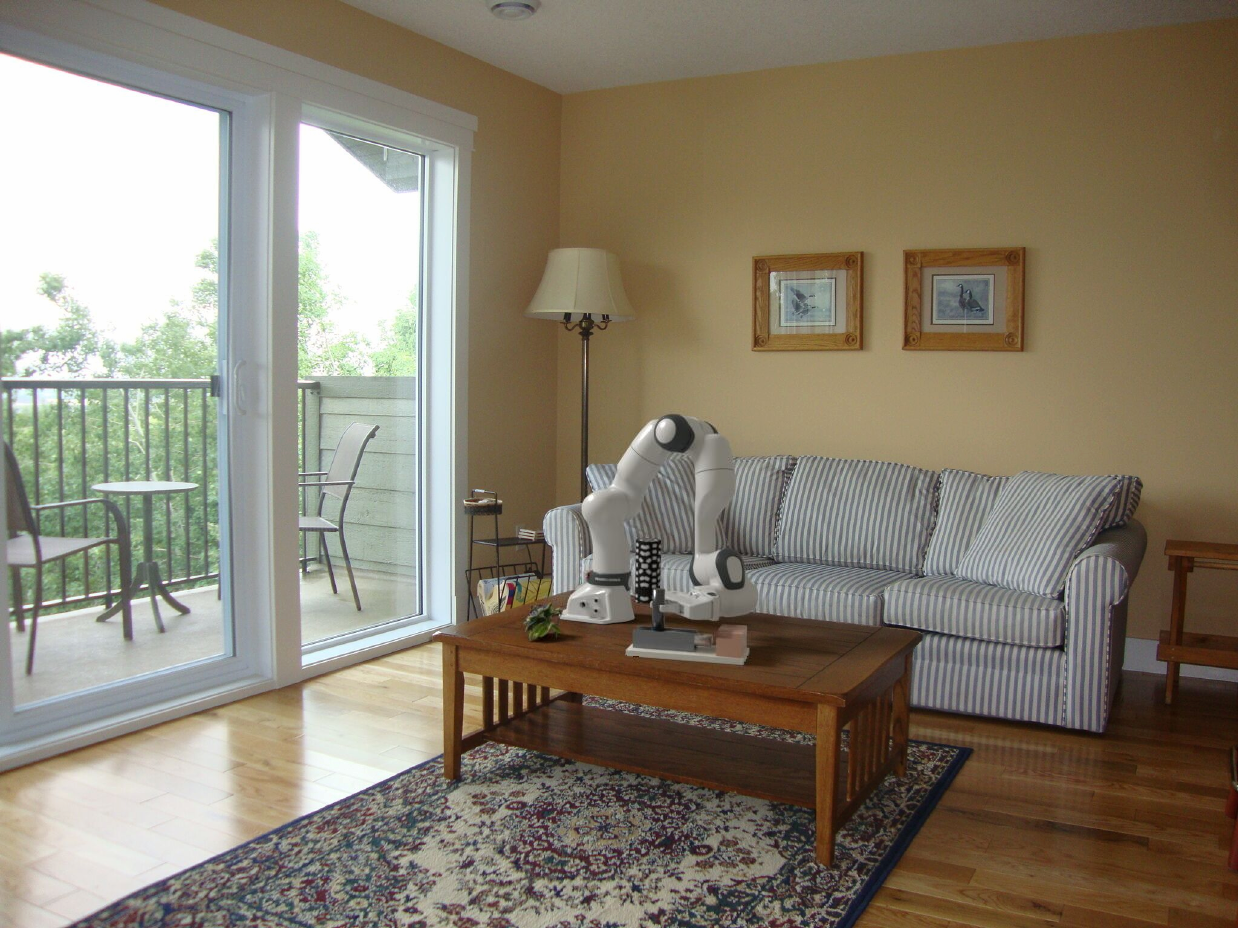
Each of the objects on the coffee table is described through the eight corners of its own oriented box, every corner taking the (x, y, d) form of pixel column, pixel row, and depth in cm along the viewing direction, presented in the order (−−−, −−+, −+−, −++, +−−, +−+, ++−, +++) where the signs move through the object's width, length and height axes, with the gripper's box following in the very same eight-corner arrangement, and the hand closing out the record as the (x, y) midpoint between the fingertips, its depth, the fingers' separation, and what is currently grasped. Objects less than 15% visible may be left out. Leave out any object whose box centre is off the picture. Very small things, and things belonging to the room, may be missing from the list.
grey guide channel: (632, 647, 260) (632, 629, 260) (637, 642, 265) (637, 625, 265) (693, 652, 256) (694, 634, 256) (697, 646, 261) (697, 629, 261)
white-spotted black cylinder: (642, 604, 322) (643, 542, 320) (630, 599, 329) (631, 538, 328) (665, 602, 326) (666, 540, 324) (652, 597, 333) (653, 537, 332)
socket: (715, 655, 252) (716, 632, 252) (721, 646, 262) (722, 623, 262) (741, 657, 251) (741, 634, 250) (746, 648, 261) (746, 625, 260)
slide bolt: (649, 643, 260) (649, 589, 259) (651, 640, 263) (652, 587, 262) (710, 648, 256) (711, 593, 255) (712, 645, 259) (713, 591, 258)
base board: (625, 655, 257) (625, 650, 257) (636, 644, 269) (636, 639, 269) (743, 665, 250) (743, 659, 250) (749, 653, 261) (749, 647, 261)
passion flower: (535, 654, 279) (543, 614, 285) (568, 651, 274) (575, 611, 280) (512, 637, 271) (521, 597, 277) (546, 635, 266) (554, 593, 272)
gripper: (683, 584, 275) (637, 587, 269) (722, 597, 257) (674, 601, 251) (682, 606, 276) (637, 611, 270) (721, 622, 257) (674, 626, 251)
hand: (655, 606), depth 260 cm, fingers closed on slide bolt, 3 cm apart
